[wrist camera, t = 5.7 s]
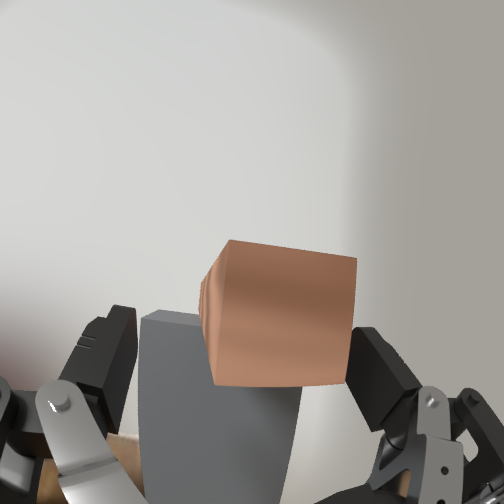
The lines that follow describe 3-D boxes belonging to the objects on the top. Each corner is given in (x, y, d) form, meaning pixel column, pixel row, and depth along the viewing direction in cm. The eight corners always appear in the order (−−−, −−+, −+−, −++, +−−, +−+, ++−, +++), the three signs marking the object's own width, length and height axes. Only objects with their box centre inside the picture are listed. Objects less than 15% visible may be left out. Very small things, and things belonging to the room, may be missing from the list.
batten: (344, 383, 6) (356, 257, 6) (214, 385, 5) (229, 239, 5) (224, 312, 31) (226, 286, 31) (198, 309, 30) (201, 283, 31)
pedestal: (255, 580, 10) (309, 333, 16) (164, 579, 9) (141, 317, 14) (241, 541, 18) (273, 321, 24) (164, 539, 16) (159, 309, 22)
